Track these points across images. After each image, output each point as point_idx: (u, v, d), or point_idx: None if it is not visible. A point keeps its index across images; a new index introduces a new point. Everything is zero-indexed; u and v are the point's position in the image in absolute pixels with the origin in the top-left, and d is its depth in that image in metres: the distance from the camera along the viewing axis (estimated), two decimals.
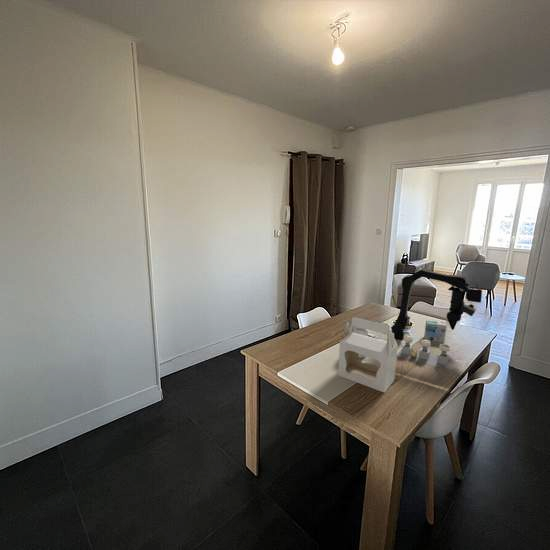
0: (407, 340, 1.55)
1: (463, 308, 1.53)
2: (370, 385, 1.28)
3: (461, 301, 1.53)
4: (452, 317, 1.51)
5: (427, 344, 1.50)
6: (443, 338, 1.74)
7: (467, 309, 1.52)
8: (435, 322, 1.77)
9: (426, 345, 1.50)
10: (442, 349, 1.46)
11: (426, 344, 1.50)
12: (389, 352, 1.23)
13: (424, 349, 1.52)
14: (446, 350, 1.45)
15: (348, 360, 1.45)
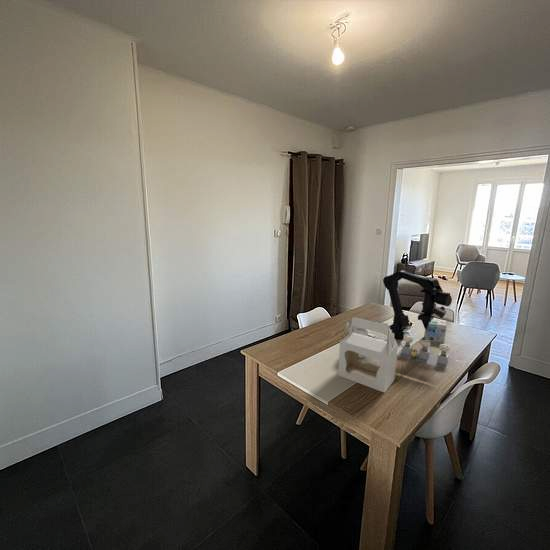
0: (407, 340, 1.55)
1: (434, 310, 1.56)
2: (370, 385, 1.28)
3: (432, 303, 1.57)
4: (423, 319, 1.54)
5: (427, 344, 1.50)
6: (443, 338, 1.74)
7: (438, 311, 1.55)
8: (435, 322, 1.77)
9: (426, 345, 1.50)
10: (442, 349, 1.46)
11: (426, 344, 1.50)
12: (389, 352, 1.23)
13: (424, 349, 1.52)
14: (446, 350, 1.45)
15: (348, 360, 1.45)
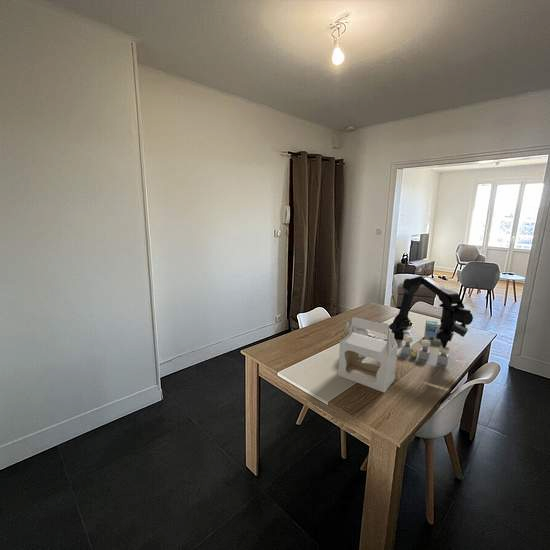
0: (407, 340, 1.55)
1: (454, 328, 1.41)
2: (370, 385, 1.28)
3: (452, 320, 1.41)
4: (442, 338, 1.38)
5: (427, 344, 1.50)
6: None
7: (458, 329, 1.40)
8: (435, 322, 1.77)
9: (426, 345, 1.50)
10: (442, 351, 1.46)
11: (426, 344, 1.50)
12: (389, 352, 1.23)
13: (424, 349, 1.52)
14: (446, 352, 1.45)
15: (348, 360, 1.45)
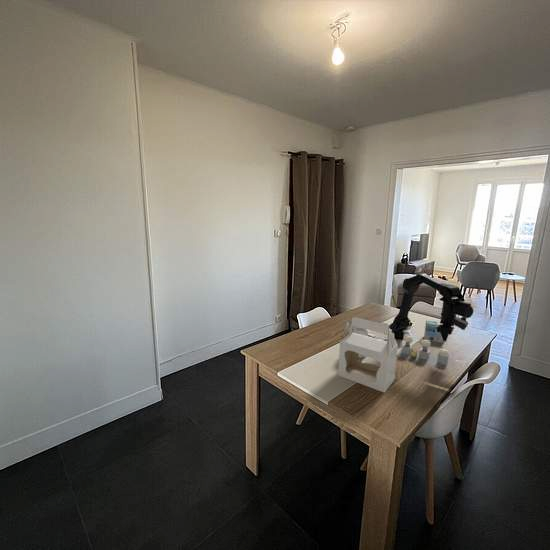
0: (407, 340, 1.55)
1: (455, 321, 1.40)
2: (370, 385, 1.28)
3: (452, 313, 1.41)
4: (442, 331, 1.38)
5: (427, 344, 1.50)
6: None
7: (459, 322, 1.39)
8: (435, 322, 1.77)
9: (426, 345, 1.50)
10: (441, 354, 1.46)
11: (426, 344, 1.50)
12: (389, 352, 1.23)
13: (424, 349, 1.52)
14: (445, 355, 1.46)
15: (348, 360, 1.45)
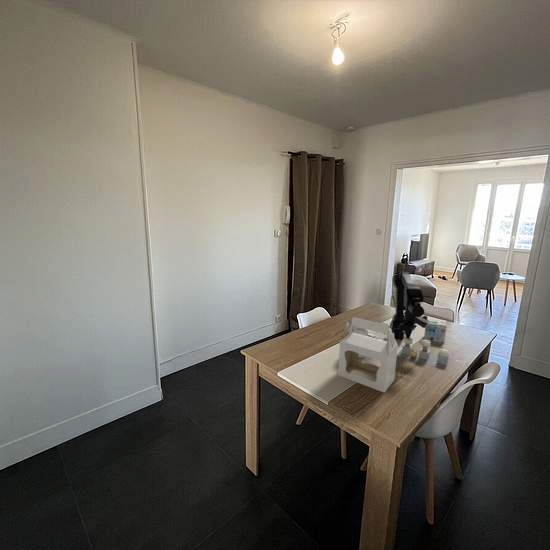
0: (407, 341, 1.56)
1: (416, 320, 1.51)
2: (370, 385, 1.28)
3: None
4: (404, 329, 1.49)
5: (427, 344, 1.50)
6: (443, 338, 1.74)
7: (420, 321, 1.50)
8: (435, 322, 1.77)
9: (426, 345, 1.50)
10: (441, 354, 1.46)
11: (426, 344, 1.50)
12: (389, 352, 1.23)
13: (424, 349, 1.52)
14: (445, 355, 1.46)
15: (348, 360, 1.45)
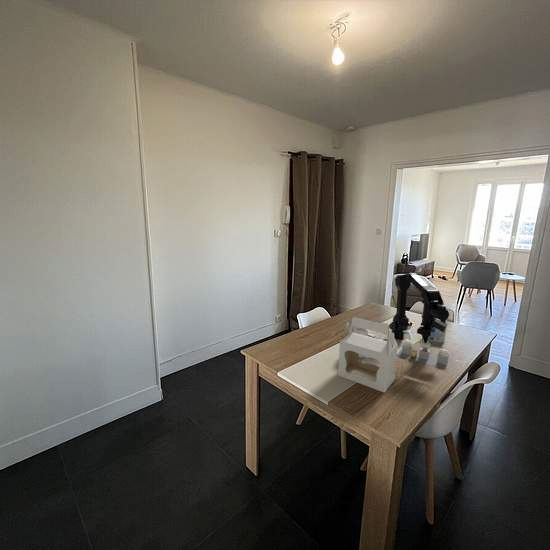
0: (406, 345, 1.56)
1: (434, 323, 1.46)
2: (370, 385, 1.28)
3: (432, 316, 1.46)
4: (422, 333, 1.43)
5: (427, 345, 1.50)
6: (443, 338, 1.74)
7: (438, 324, 1.45)
8: None
9: (426, 346, 1.50)
10: (441, 354, 1.46)
11: (426, 345, 1.50)
12: (389, 352, 1.23)
13: (424, 350, 1.52)
14: (445, 355, 1.46)
15: (348, 360, 1.45)
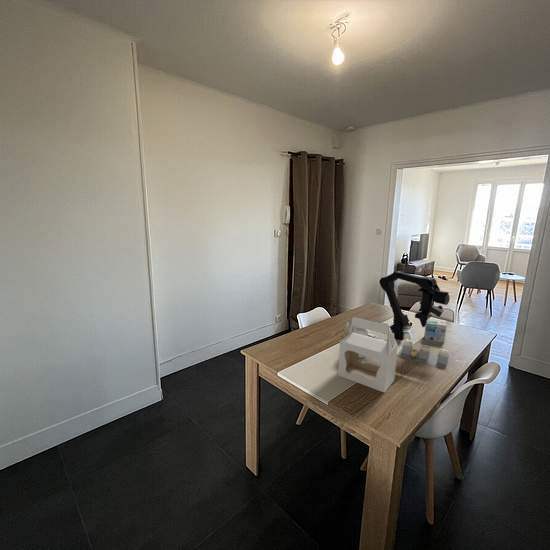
0: (406, 345, 1.56)
1: (431, 309, 1.59)
2: (370, 385, 1.28)
3: (430, 302, 1.59)
4: (420, 317, 1.57)
5: (426, 349, 1.51)
6: (443, 338, 1.74)
7: (435, 310, 1.58)
8: (435, 322, 1.77)
9: (425, 350, 1.51)
10: (441, 354, 1.46)
11: (425, 349, 1.51)
12: (389, 352, 1.23)
13: None
14: (445, 355, 1.46)
15: (348, 360, 1.45)
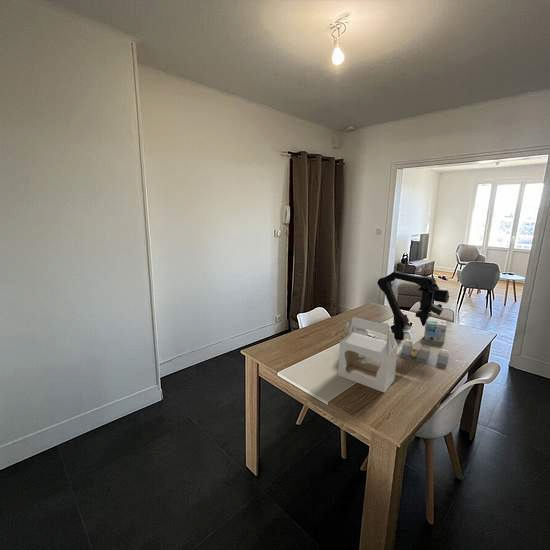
0: (406, 345, 1.56)
1: (431, 308, 1.60)
2: (370, 385, 1.28)
3: (429, 301, 1.61)
4: (420, 316, 1.58)
5: (426, 349, 1.51)
6: (443, 338, 1.74)
7: (435, 309, 1.59)
8: (435, 322, 1.77)
9: (425, 350, 1.51)
10: (441, 354, 1.46)
11: (425, 349, 1.51)
12: (389, 352, 1.23)
13: None
14: (445, 355, 1.46)
15: (348, 360, 1.45)
